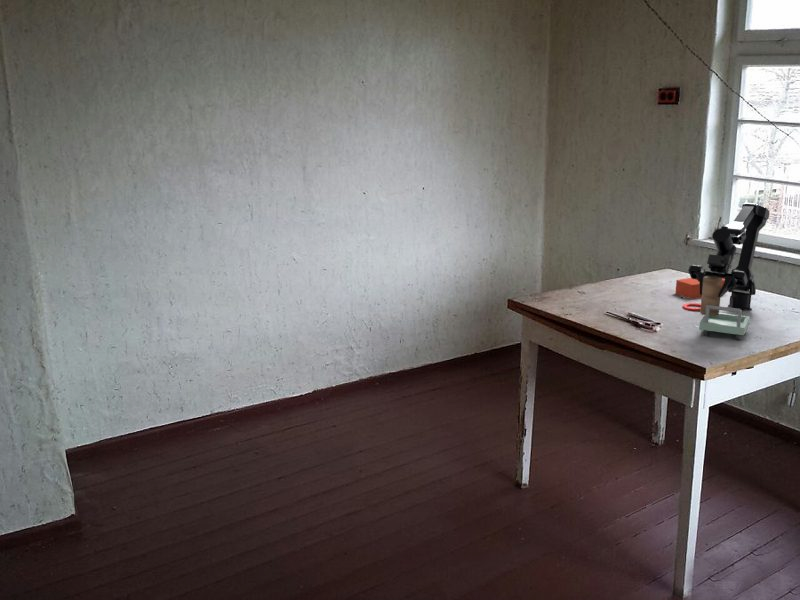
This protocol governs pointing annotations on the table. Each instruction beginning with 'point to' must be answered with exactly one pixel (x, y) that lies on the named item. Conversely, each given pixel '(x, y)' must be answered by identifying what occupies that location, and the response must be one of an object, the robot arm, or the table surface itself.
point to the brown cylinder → (710, 294)
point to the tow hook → (692, 305)
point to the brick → (689, 287)
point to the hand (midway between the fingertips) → (709, 295)
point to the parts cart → (724, 322)
